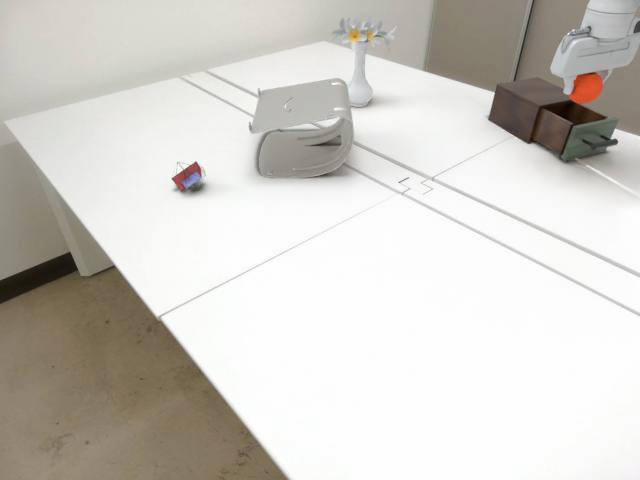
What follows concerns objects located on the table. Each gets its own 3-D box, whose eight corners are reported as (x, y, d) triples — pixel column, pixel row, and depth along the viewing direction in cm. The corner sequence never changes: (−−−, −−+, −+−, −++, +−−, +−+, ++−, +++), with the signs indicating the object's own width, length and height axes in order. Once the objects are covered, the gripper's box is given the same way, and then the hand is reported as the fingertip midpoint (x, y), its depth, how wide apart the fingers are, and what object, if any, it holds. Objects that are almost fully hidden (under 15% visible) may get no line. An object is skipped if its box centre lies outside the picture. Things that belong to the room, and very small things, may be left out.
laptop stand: (352, 179, 109) (355, 117, 99) (253, 179, 108) (246, 118, 99) (346, 131, 128) (348, 76, 119) (262, 132, 128) (258, 77, 119)
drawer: (619, 159, 114) (634, 126, 108) (578, 169, 110) (591, 135, 105) (559, 127, 128) (570, 96, 123) (521, 135, 124) (531, 104, 119)
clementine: (562, 93, 108) (572, 62, 103) (594, 97, 106) (606, 65, 101) (563, 106, 102) (573, 74, 97) (597, 110, 100) (610, 77, 95)
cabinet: (569, 134, 127) (583, 97, 120) (527, 143, 122) (539, 105, 116) (527, 112, 139) (538, 77, 132) (488, 119, 134) (496, 84, 128)
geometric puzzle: (172, 194, 100) (187, 162, 98) (161, 180, 104) (176, 149, 102) (200, 202, 105) (215, 172, 103) (189, 189, 109) (203, 159, 107)
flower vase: (393, 109, 141) (402, 21, 125) (334, 112, 139) (335, 24, 123) (382, 93, 151) (390, 10, 135) (327, 96, 149) (328, 13, 133)
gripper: (579, 34, 88) (557, 103, 97) (654, 22, 94) (627, 88, 103) (554, 26, 93) (535, 93, 101) (628, 15, 99) (604, 79, 107)
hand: (582, 90), depth 102 cm, fingers closed on clementine, 7 cm apart
